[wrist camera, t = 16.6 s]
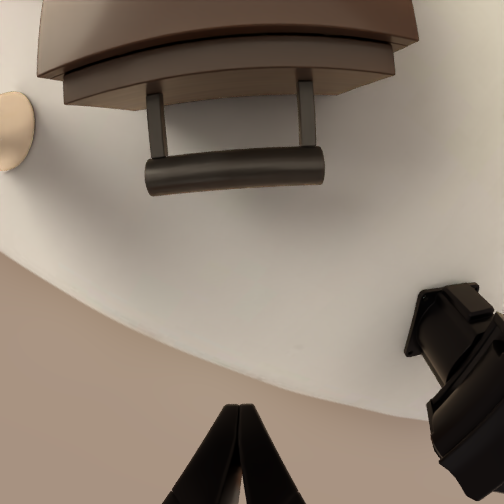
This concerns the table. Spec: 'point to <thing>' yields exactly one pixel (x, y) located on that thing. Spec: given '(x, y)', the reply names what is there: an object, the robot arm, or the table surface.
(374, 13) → the cabinet
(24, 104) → the beer glass
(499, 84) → the table surface
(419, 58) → the table surface
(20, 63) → the table surface
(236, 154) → the drawer
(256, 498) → the robot arm
